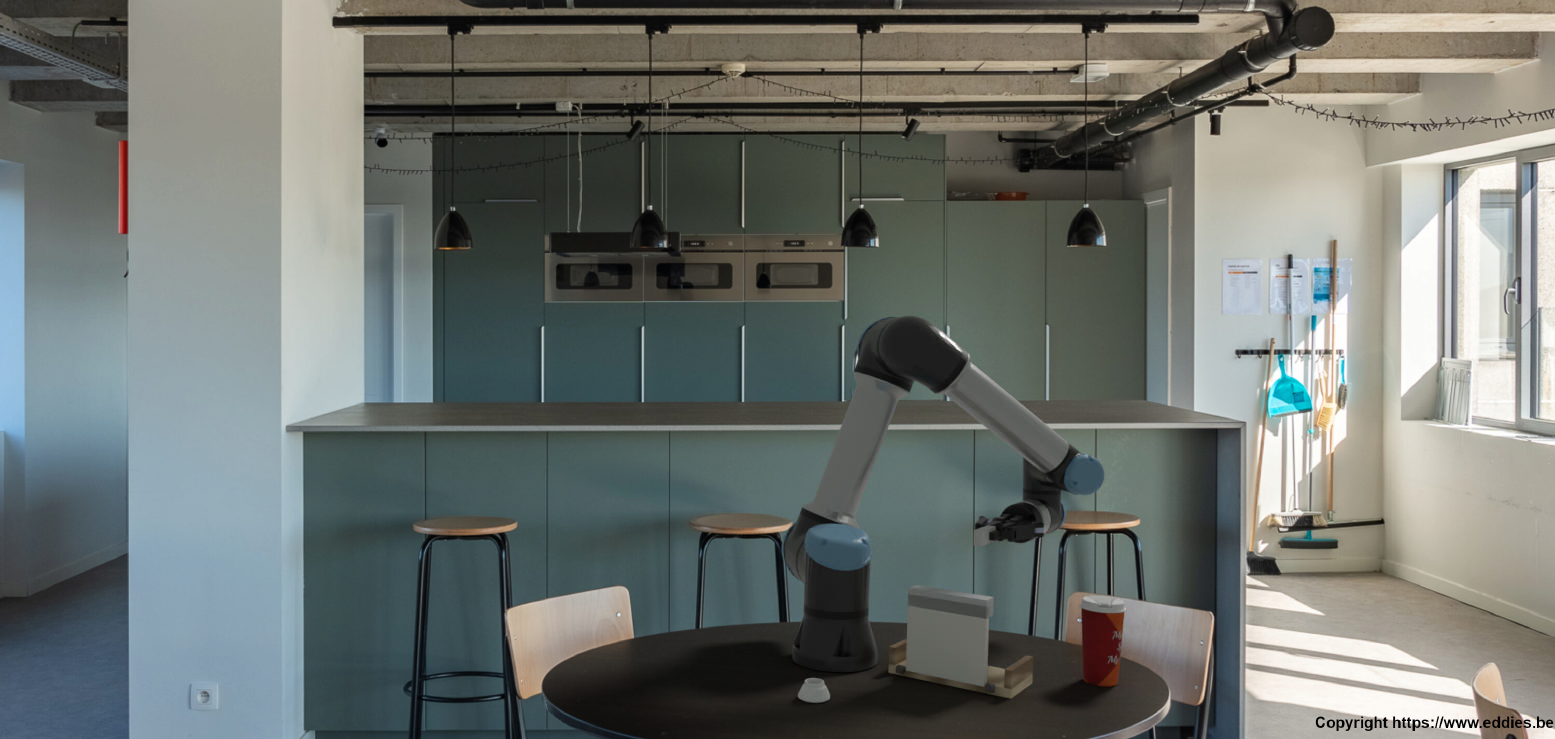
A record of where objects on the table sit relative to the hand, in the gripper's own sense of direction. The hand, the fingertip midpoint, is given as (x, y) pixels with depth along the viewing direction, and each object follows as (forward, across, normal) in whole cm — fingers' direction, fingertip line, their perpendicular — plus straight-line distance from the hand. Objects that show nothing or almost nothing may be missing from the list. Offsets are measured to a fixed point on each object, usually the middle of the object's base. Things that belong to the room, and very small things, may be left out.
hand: (977, 538), depth 180 cm
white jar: (+30, +15, -23) cm, 41 cm away
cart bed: (+6, +1, -23) cm, 24 cm away
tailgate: (+10, +1, -22) cm, 24 cm away
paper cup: (-8, -19, -24) cm, 32 cm away
